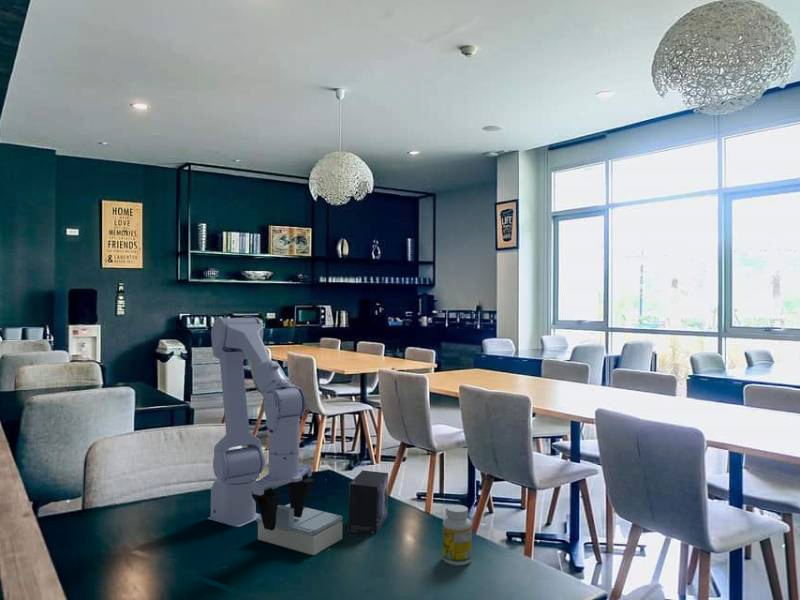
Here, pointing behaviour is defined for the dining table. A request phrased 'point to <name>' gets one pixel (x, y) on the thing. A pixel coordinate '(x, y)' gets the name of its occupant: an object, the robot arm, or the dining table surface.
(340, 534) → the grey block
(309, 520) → the lid
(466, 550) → the supplement bottle
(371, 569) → the dining table surface
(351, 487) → the small box
